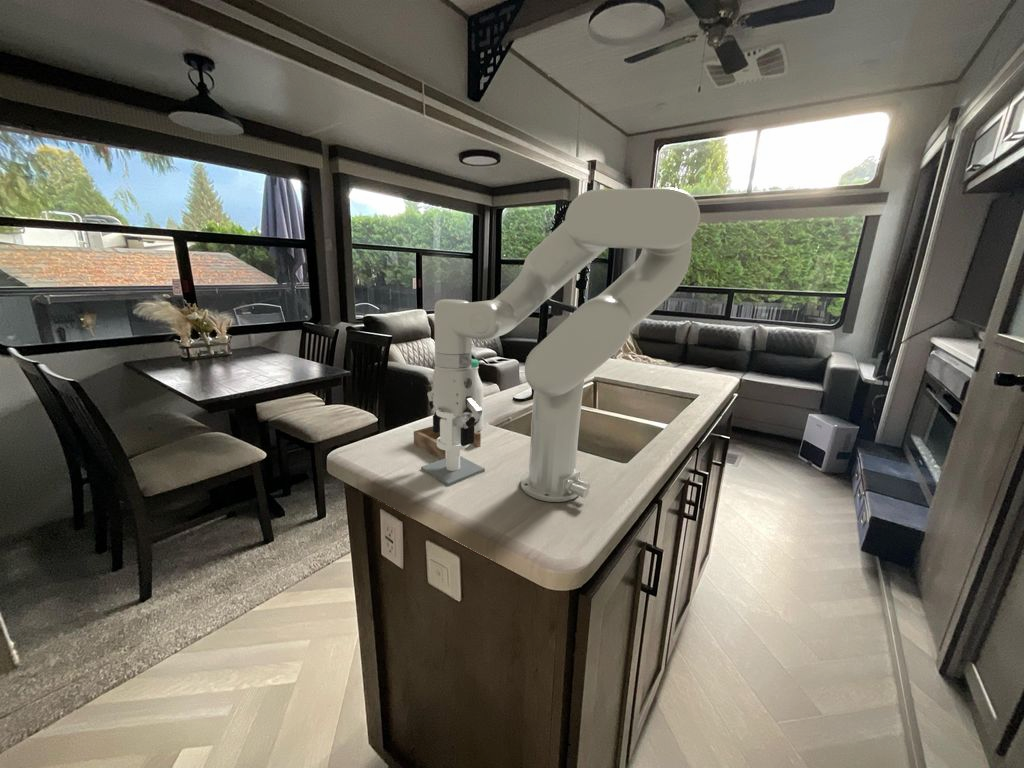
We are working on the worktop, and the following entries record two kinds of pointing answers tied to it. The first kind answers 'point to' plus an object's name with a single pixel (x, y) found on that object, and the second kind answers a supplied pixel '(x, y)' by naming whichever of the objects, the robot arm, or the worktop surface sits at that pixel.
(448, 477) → the trivet
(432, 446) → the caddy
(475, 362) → the milk bottle
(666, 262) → the robot arm
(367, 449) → the worktop surface
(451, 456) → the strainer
